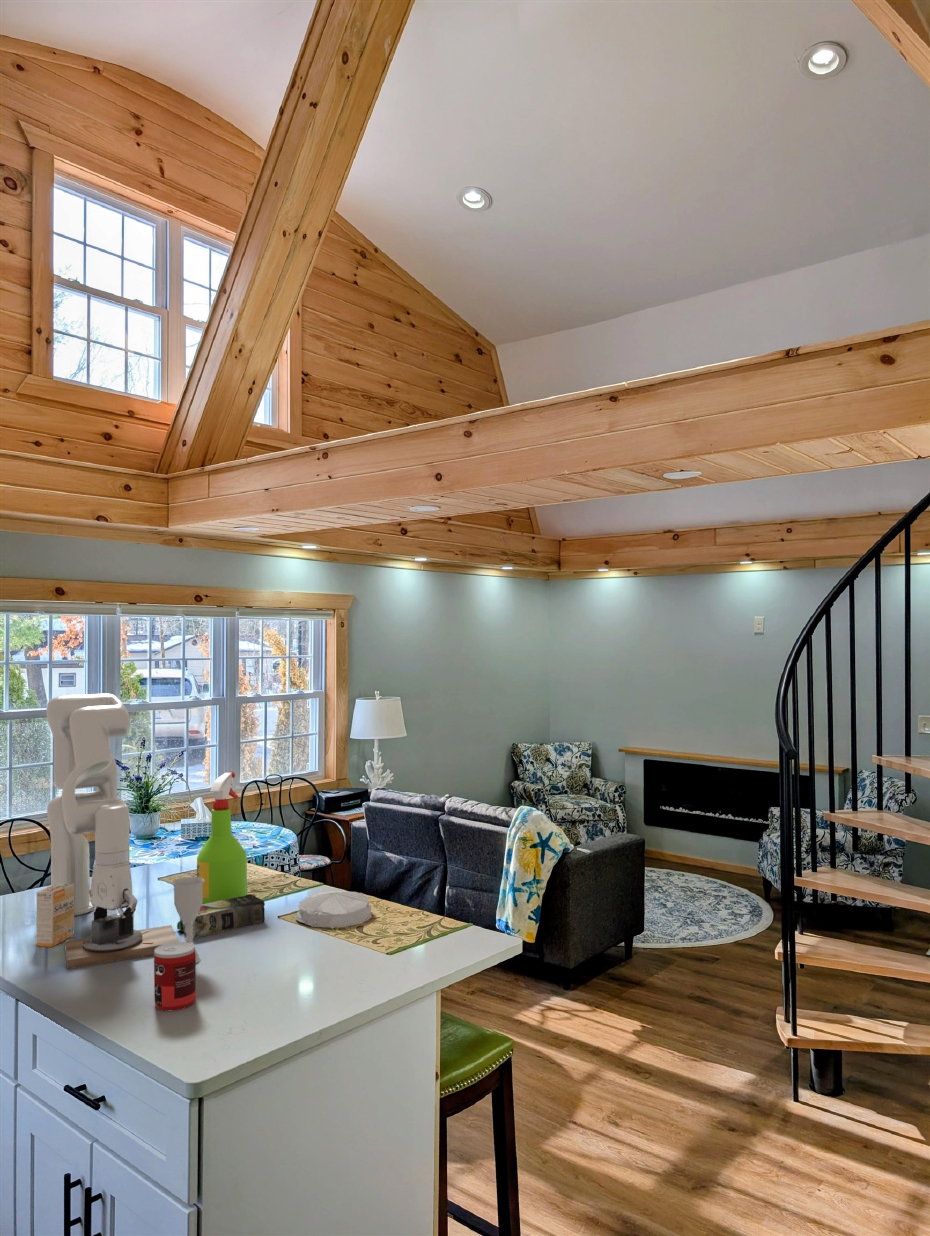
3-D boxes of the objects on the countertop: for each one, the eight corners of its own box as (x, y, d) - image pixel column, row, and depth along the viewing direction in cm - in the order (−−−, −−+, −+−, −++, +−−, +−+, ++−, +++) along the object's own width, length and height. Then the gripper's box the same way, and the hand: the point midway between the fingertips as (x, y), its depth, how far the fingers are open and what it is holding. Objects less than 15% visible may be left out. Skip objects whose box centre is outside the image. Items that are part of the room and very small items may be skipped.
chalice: (211, 957, 199) (210, 878, 199) (193, 968, 192) (192, 886, 193) (184, 954, 201) (184, 876, 202) (165, 964, 195) (165, 884, 195)
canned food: (160, 996, 177) (159, 942, 177) (199, 994, 178) (199, 940, 178) (149, 1012, 169) (149, 955, 170) (191, 1010, 170) (190, 953, 170)
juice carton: (188, 941, 211) (188, 915, 211) (175, 931, 219) (175, 906, 219) (265, 924, 223) (265, 900, 223) (250, 915, 231) (250, 892, 231)
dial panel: (65, 949, 206) (65, 940, 206) (171, 933, 216) (171, 924, 216) (67, 969, 193) (67, 959, 193) (179, 950, 204) (179, 941, 204)
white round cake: (375, 906, 238) (374, 880, 238) (369, 928, 218) (368, 901, 218) (301, 908, 237) (301, 883, 237) (289, 931, 217) (289, 904, 218)
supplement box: (53, 947, 207) (53, 892, 208) (35, 946, 208) (35, 891, 209) (75, 936, 215) (75, 883, 216) (58, 935, 216) (58, 882, 217)
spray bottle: (260, 888, 255) (258, 769, 255) (235, 907, 237) (234, 778, 238) (216, 887, 256) (215, 769, 257) (188, 906, 238) (187, 778, 239)
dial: (104, 956, 195) (104, 928, 195) (71, 945, 202) (71, 919, 202) (153, 939, 206) (153, 913, 206) (120, 929, 213) (120, 904, 213)
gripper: (76, 856, 206) (76, 929, 206) (120, 865, 196) (121, 942, 196) (104, 850, 212) (105, 920, 212) (149, 858, 203) (149, 932, 202)
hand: (112, 930), depth 204 cm, fingers open, 9 cm apart
